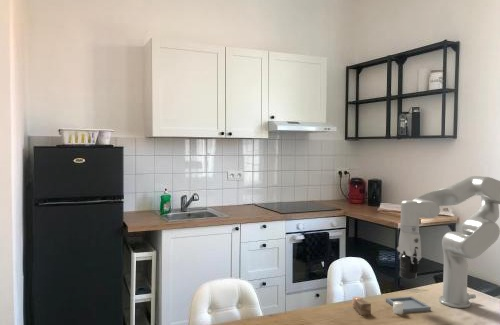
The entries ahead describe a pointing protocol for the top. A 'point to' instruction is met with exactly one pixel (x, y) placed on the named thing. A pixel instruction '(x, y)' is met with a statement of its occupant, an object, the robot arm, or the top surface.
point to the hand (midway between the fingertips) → (408, 269)
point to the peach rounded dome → (355, 300)
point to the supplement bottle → (406, 267)
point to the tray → (409, 304)
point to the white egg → (398, 307)
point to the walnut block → (363, 307)
